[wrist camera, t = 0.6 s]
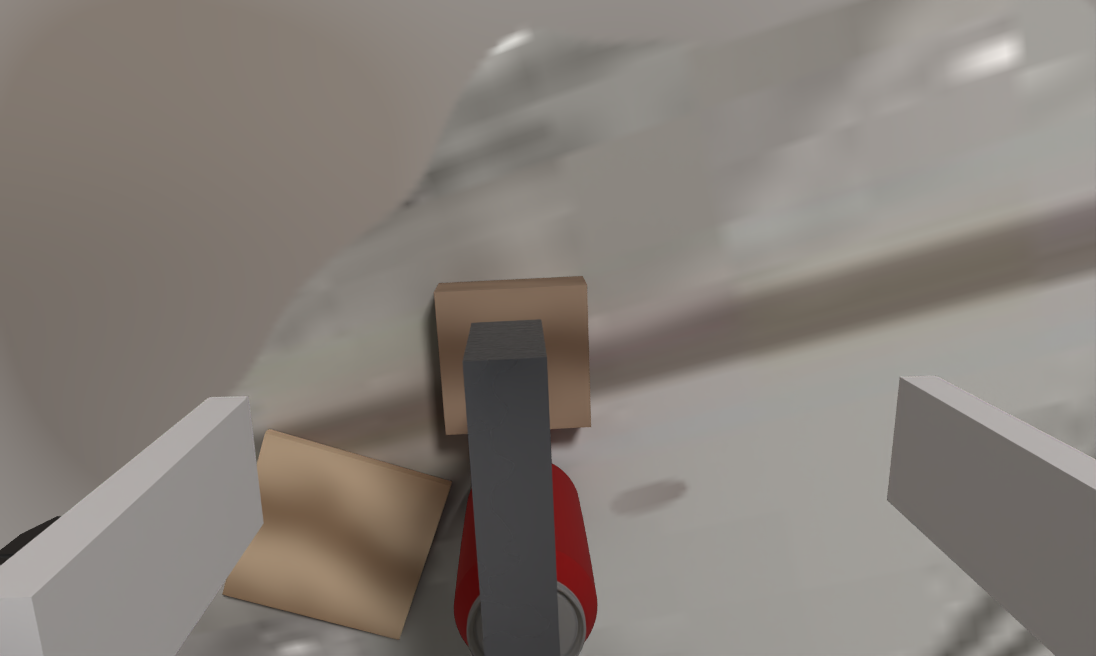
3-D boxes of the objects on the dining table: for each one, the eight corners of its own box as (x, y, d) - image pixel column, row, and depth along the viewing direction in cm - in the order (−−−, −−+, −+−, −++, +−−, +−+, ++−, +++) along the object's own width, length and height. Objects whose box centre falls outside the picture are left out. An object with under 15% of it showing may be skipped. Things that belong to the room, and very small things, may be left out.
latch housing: (586, 410, 42) (591, 426, 40) (449, 418, 42) (445, 435, 40) (582, 276, 40) (586, 284, 38) (438, 283, 40) (434, 292, 38)
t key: (545, 540, 41) (567, 811, 25) (503, 543, 41) (496, 816, 25) (532, 259, 37) (546, 356, 21) (485, 262, 37) (462, 361, 20)
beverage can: (486, 564, 45) (477, 712, 33) (452, 468, 43) (429, 589, 31) (591, 533, 44) (619, 673, 33) (561, 436, 43) (578, 547, 31)
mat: (400, 633, 46) (399, 639, 45) (226, 588, 44) (222, 594, 44) (451, 481, 43) (450, 486, 43) (268, 428, 42) (265, 432, 41)
